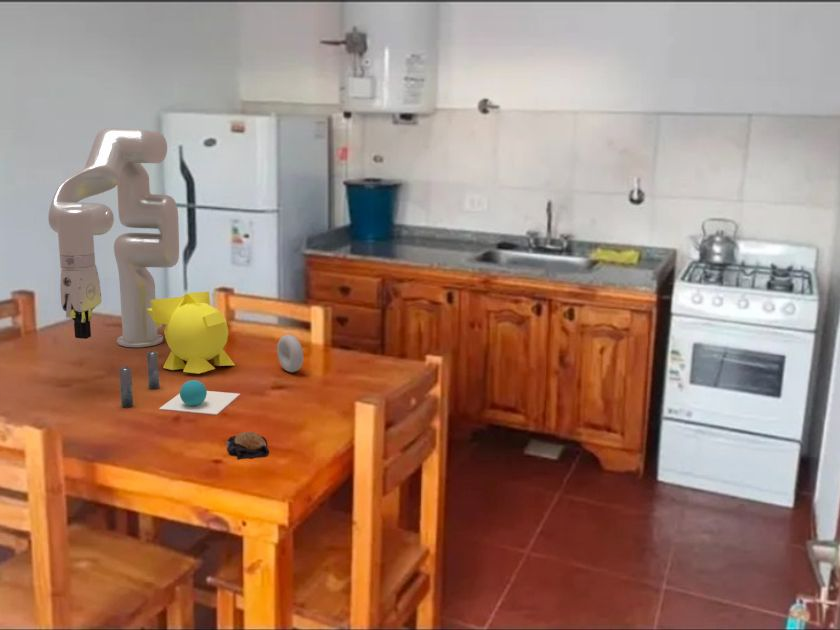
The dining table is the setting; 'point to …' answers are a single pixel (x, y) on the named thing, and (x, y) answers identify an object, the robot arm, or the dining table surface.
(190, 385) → the ball
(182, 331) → the piggy bank
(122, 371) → the post
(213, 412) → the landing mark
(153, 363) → the post
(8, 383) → the dining table surface
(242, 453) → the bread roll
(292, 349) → the donut
